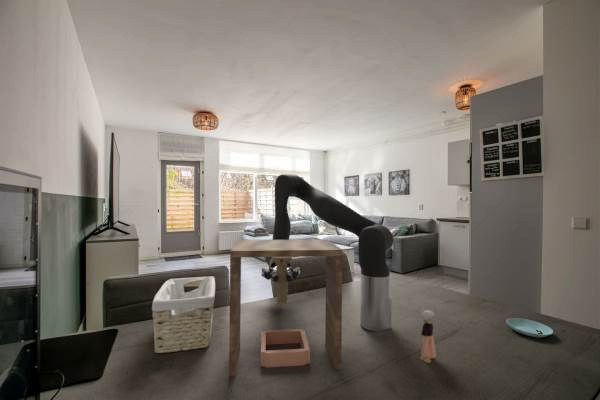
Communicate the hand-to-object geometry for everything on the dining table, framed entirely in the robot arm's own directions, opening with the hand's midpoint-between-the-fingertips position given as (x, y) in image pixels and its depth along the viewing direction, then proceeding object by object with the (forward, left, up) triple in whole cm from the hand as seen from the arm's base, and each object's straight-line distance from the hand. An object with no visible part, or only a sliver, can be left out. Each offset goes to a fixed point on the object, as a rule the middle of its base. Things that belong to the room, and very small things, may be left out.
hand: (282, 279), depth 90 cm
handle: (0, -3, -9) cm, 9 cm away
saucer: (-79, +7, -17) cm, 81 cm away
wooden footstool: (0, +12, -17) cm, 21 cm away
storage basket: (+29, -2, -17) cm, 34 cm away
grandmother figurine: (-38, +18, -17) cm, 45 cm away
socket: (0, +12, -17) cm, 21 cm away
